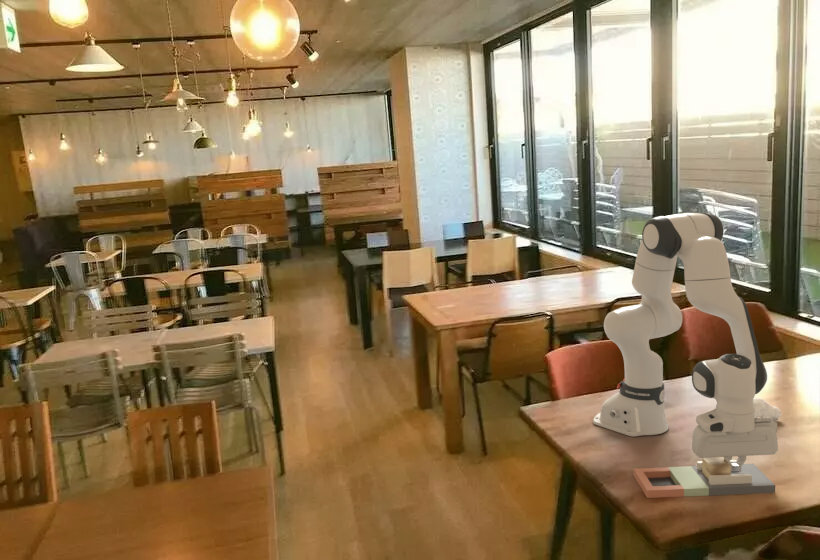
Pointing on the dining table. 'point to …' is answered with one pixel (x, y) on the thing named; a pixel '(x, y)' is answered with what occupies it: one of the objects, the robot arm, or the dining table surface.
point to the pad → (689, 481)
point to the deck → (662, 485)
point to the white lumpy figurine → (765, 409)
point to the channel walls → (727, 477)
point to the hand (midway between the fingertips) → (734, 471)
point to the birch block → (715, 466)
